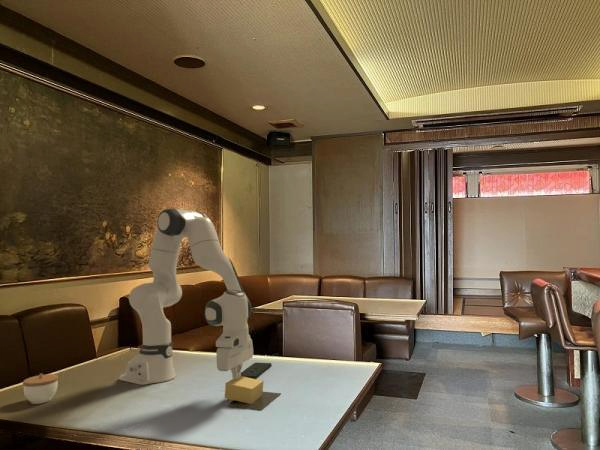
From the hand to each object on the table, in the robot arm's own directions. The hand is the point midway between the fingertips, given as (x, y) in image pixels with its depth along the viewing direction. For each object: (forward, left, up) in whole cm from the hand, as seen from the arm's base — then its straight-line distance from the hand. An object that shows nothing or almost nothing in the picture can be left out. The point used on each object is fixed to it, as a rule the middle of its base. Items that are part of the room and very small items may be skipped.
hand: (236, 377), depth 153 cm
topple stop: (+6, 0, -7) cm, 9 cm away
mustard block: (-2, 0, -3) cm, 4 cm away
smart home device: (-8, +31, -8) cm, 33 cm away
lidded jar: (-66, -22, -7) cm, 70 cm away
